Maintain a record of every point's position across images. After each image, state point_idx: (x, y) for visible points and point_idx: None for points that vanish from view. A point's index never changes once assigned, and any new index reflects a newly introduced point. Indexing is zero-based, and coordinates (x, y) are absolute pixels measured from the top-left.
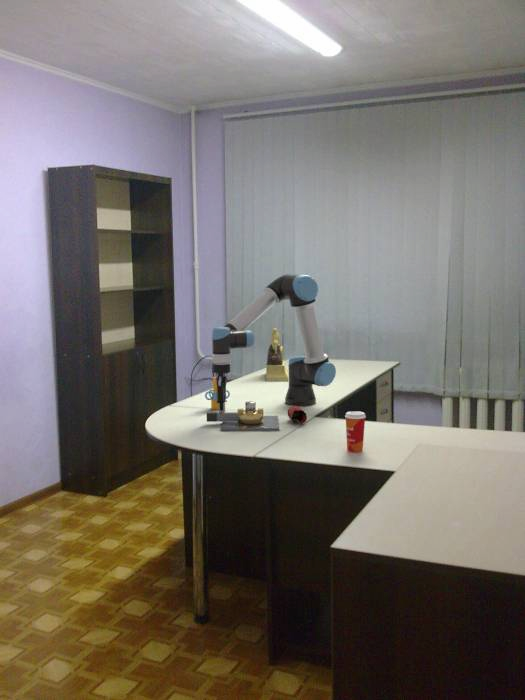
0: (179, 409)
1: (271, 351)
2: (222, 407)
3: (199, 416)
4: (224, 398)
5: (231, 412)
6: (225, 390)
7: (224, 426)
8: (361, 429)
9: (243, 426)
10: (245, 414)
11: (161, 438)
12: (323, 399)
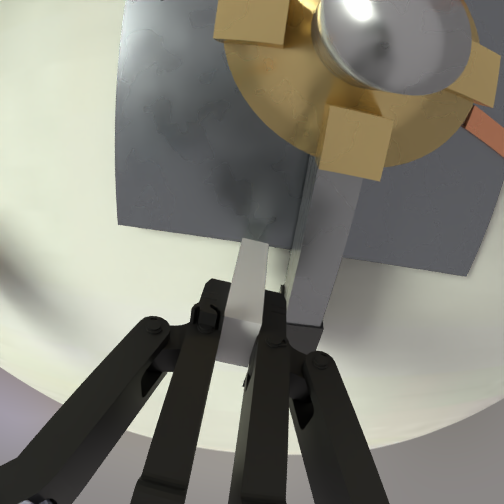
0: (16, 358)
1: None
2: (285, 316)
3: (97, 327)
4: (216, 352)
5: (313, 219)
6: (114, 399)
7: (431, 254)
8: None
9: (488, 144)
10: (451, 113)
11: (440, 428)
12: None
